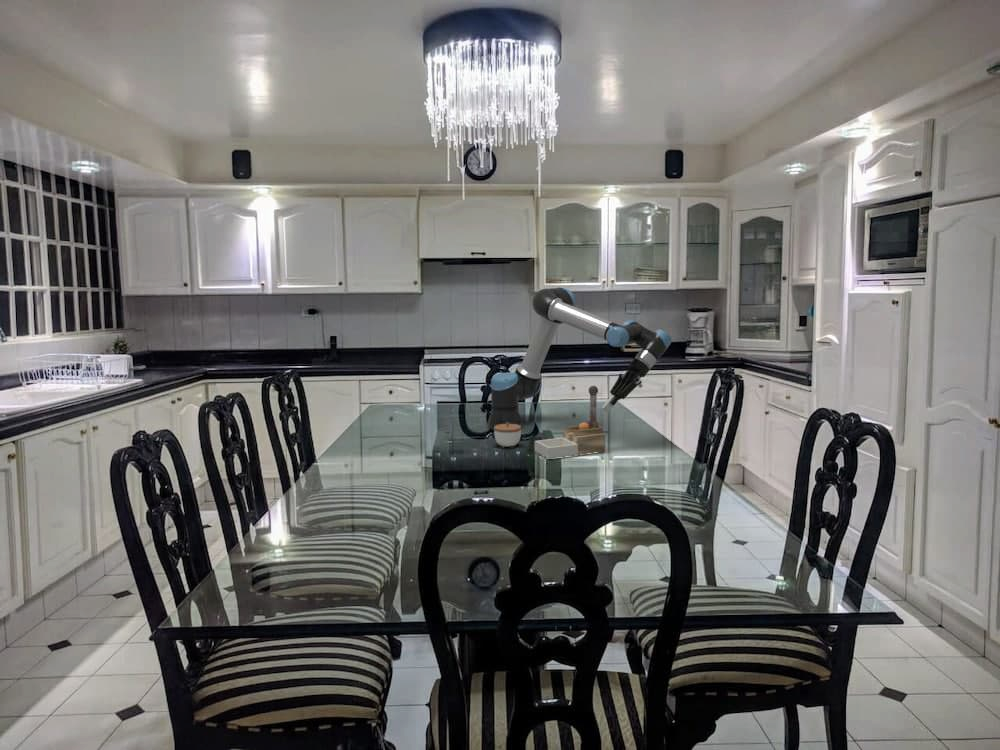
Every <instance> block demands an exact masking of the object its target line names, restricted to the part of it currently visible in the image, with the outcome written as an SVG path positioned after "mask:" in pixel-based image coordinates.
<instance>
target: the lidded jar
mask: <svg viewBox="0 0 1000 750" xmlns="http://www.w3.org/2000/svg"><path fill="white" fill-rule="evenodd" d="M493 431H494V432H493V434H494V439H495V441H496V443H497V444H498V445H499V446H500V445H501V446H515V445H517V444H518V443H519V442H520V440H521V436H522V435H521V434H522V428H521V426H520V425H517V424H509V422H506V424H499V425H496V426H494V430H493ZM501 446H500V447H501ZM515 447H516V446H515Z"/></svg>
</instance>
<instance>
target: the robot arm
mask: <svg viewBox="0 0 1000 750" xmlns="http://www.w3.org/2000/svg"><path fill="white" fill-rule="evenodd" d="M576 303H577V302H576V298H575V295H574V293H573V292H572V291H571V290H570V289H568V288H566V287H554V288H553V287H552V288H551V287H550V288H542V289H540V290H538V291H537V292H536V293H535V294H534V296H533V298H532V303H531V304H532V308H533V311H534V313H536V314H537V315H538V316H539V317H540V318H539V321H538V323H537V325H536V327H535V330H534V333H533V335H532V337H531V340H530V343H529V346H528V347H527V350H526V353H525V355H524V358H523V360H522V362H521V364H518V365H517V366H516V368H515V371H514V372H509V371H508V372H501V373H497V374H495V375H493V376H492V378H491V380H490V381H491V382H490V388H491V389H490V391H491V392H490V394H491V395H490V396H491V398H490V399H491V411H490V415H489V417H488V422H487V428H488V429H489V430H492V431H494V426H496V425H499V424H506V422H509V424H517V425H520V426H521V429H522V428H523V420H522V418H521V413H520V411H519V401H522V400H526V399H531V398H533V397H535V396H537V394H539V392H540V390H541V389H542V379H541V377H542V374H541V368H542V366H543V364H544V362H545V359H546V357H547V354H548V352H549V350H550V347H551V345H552V342H553V340H554V337H555V336H556V332H557V330H558V328H559V326H560V325H563V324H566V325H568V326H570V327H573V328H576V329H578V330H580V331H582V332H584V333H588V334H590V335H592V336H595V337H597V338H600V339H602V340H604V341H606V342H607V343H608V344H609V346H612V347H614V348H621V347H623V346H628V345H632V344H635V345H637V346H638V347H639V348H641V350H639V352H638V353H637V354H636V355H635V358H633V359H632V360H631V361H630V363H629V364H628V370H626V372H625V373H619V375H618V378H617V379H616V381H615V383H614V384H613V386H612V388H611V390H610V391H609V393H610V396H609V398H608V399H607V400H606V402H605V403H604V404H603V405H602V407H601V408H602V410H603V411H604V412H605V413H607V414H609V413H610V411H611V410H612V408H613V407H614V406H615V405H616V404H617V403H618V401H621V399H622V400H625V399H626V398H627V397H628V396H629V395H630V394H631V393H632V392H633V391H634V390H635V389H636V388H637V387H638V386H640V385H641V384H642V383H643V382H642V380H641V378H644V377H645V376H646V375H647V374H648V373H649V372H650V370H651V369H652V367H654V365H655V364H656V363H657V362H658V360H659V359H661V356H663V354H664V353H665V352H666V351H667V350H668V348H669V347H670V345H671V343H672V342H673V339H672V336H671V335H670V334H669V333H668V332H666V331H665V330H663V329H660V328H659V329H656V331H652V330H650V329H649V328H647V327H645V326H644V325H641V323H639V322H638V321H635V320H632V319H627V320H626V321H624V322H623V323H622V325H621V324H619V323H616V322H613V321H610V320H609V319H606V318H603V317H601V316H598V315H596V314H593V313H591V312H589V311H586V310H583V309H580V308H578V307H576Z"/></svg>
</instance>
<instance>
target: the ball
mask: <svg viewBox="0 0 1000 750" xmlns="http://www.w3.org/2000/svg"><path fill="white" fill-rule="evenodd" d="M578 426H579V430H585V429H589V425H588V422H587V423H586V422H581V423H579V425H578Z"/></svg>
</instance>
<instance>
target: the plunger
mask: <svg viewBox="0 0 1000 750" xmlns="http://www.w3.org/2000/svg"><path fill="white" fill-rule="evenodd" d="M588 393H589V420H588V421H587V424H588V425H589V429H593V428H600V427H599V425H600V424H599V422H597V394H598V393H599V388H598V387H597V386H596V385H591V386H590V387H589V388H588Z"/></svg>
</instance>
